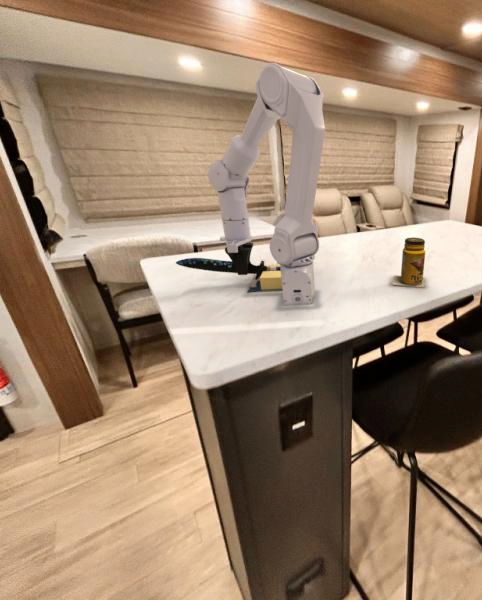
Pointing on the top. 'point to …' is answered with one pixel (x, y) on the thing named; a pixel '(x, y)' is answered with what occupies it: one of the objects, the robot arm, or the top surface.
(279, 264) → the butter pat
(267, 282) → the yellow rectangular block
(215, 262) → the knife
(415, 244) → the condiment
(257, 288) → the butter dish
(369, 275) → the top surface
